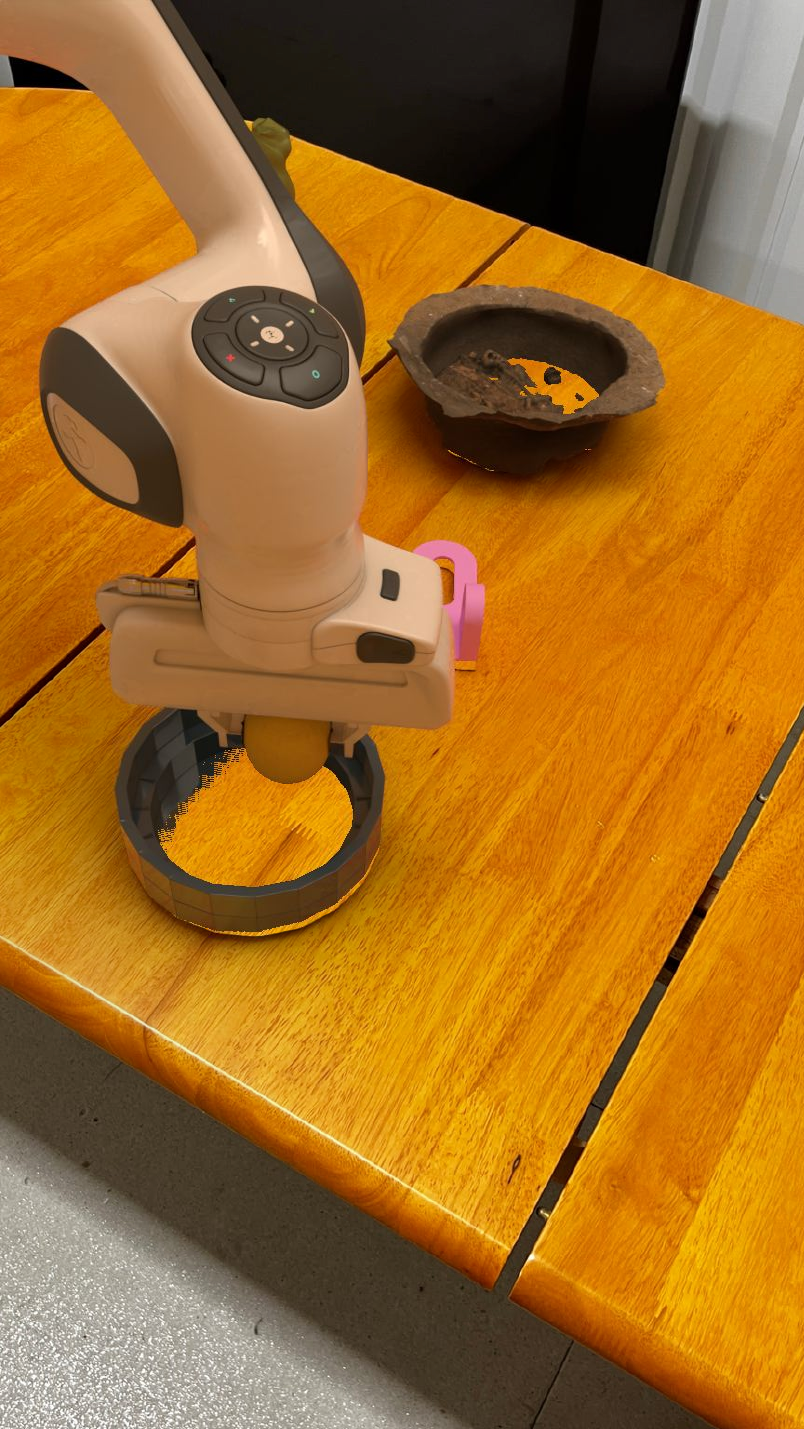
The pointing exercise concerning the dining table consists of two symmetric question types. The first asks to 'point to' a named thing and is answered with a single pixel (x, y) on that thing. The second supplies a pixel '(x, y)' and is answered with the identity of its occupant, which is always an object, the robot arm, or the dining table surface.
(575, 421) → the stone bowl
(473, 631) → the bracket
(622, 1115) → the dining table surface
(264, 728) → the lemon
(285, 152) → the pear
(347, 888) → the dark grey round ring
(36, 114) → the dining table surface
